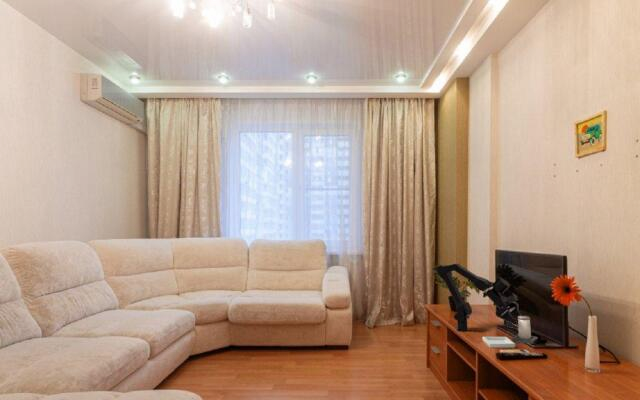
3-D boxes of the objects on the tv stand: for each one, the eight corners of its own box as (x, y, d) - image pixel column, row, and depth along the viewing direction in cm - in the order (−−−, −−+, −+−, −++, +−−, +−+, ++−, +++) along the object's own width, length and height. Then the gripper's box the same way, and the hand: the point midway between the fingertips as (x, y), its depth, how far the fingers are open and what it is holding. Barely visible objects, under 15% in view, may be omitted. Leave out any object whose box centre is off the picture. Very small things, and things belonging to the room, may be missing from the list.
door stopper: (503, 324, 234) (502, 304, 235) (514, 324, 233) (512, 304, 234) (507, 328, 226) (506, 307, 226) (518, 328, 224) (517, 307, 225)
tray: (482, 340, 203) (482, 336, 203) (506, 340, 202) (506, 336, 202) (490, 347, 191) (489, 343, 191) (515, 348, 190) (515, 343, 190)
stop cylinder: (517, 339, 203) (515, 315, 204) (528, 339, 202) (527, 315, 203) (521, 343, 198) (520, 318, 198) (533, 343, 197) (531, 318, 198)
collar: (512, 341, 200) (512, 337, 200) (518, 337, 207) (518, 333, 207) (531, 345, 193) (531, 341, 194) (537, 341, 200) (537, 337, 200)
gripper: (500, 291, 201) (524, 316, 192) (513, 286, 214) (536, 309, 205) (486, 305, 206) (509, 329, 197) (499, 299, 219) (522, 322, 210)
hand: (519, 322), depth 202 cm, fingers open, 9 cm apart
